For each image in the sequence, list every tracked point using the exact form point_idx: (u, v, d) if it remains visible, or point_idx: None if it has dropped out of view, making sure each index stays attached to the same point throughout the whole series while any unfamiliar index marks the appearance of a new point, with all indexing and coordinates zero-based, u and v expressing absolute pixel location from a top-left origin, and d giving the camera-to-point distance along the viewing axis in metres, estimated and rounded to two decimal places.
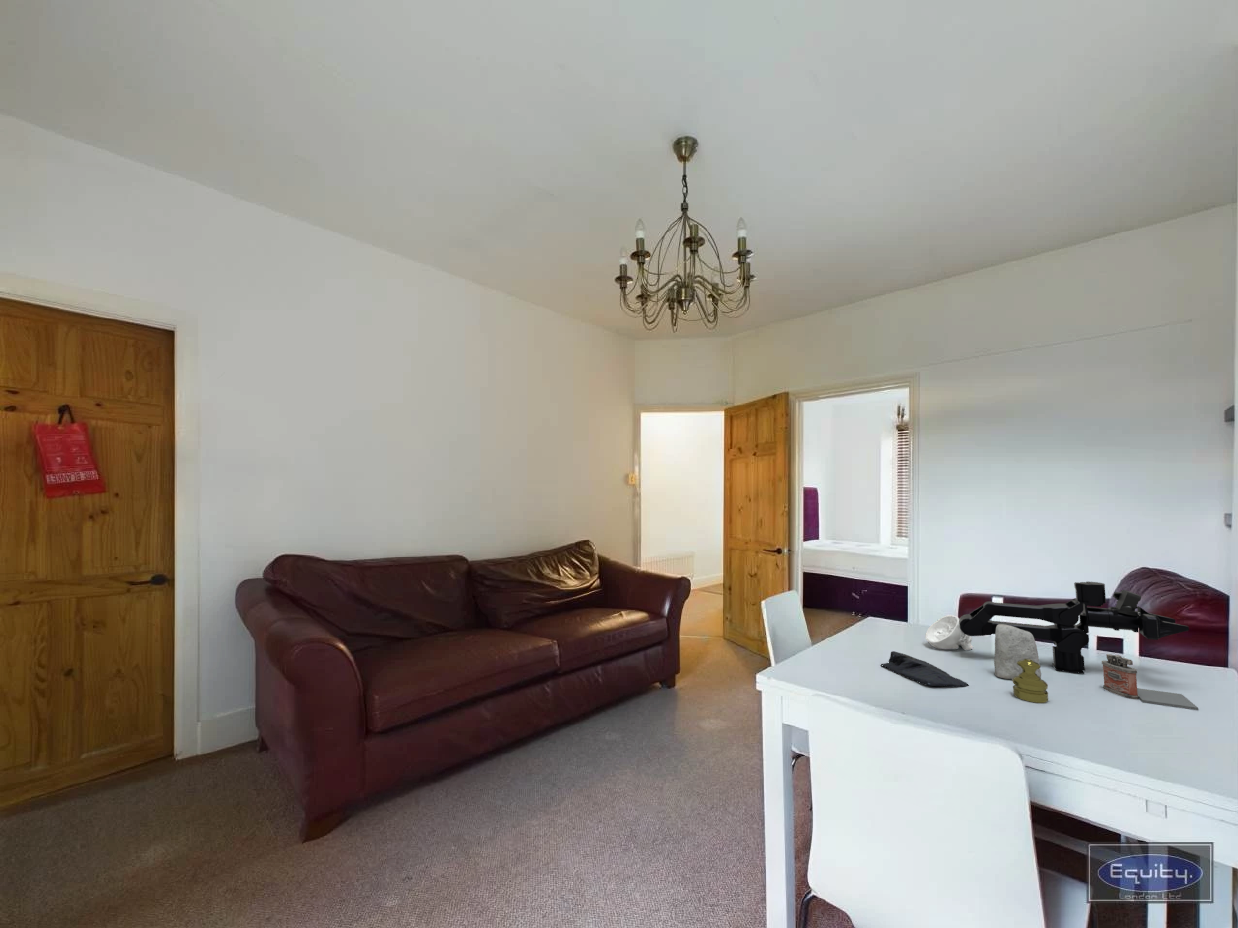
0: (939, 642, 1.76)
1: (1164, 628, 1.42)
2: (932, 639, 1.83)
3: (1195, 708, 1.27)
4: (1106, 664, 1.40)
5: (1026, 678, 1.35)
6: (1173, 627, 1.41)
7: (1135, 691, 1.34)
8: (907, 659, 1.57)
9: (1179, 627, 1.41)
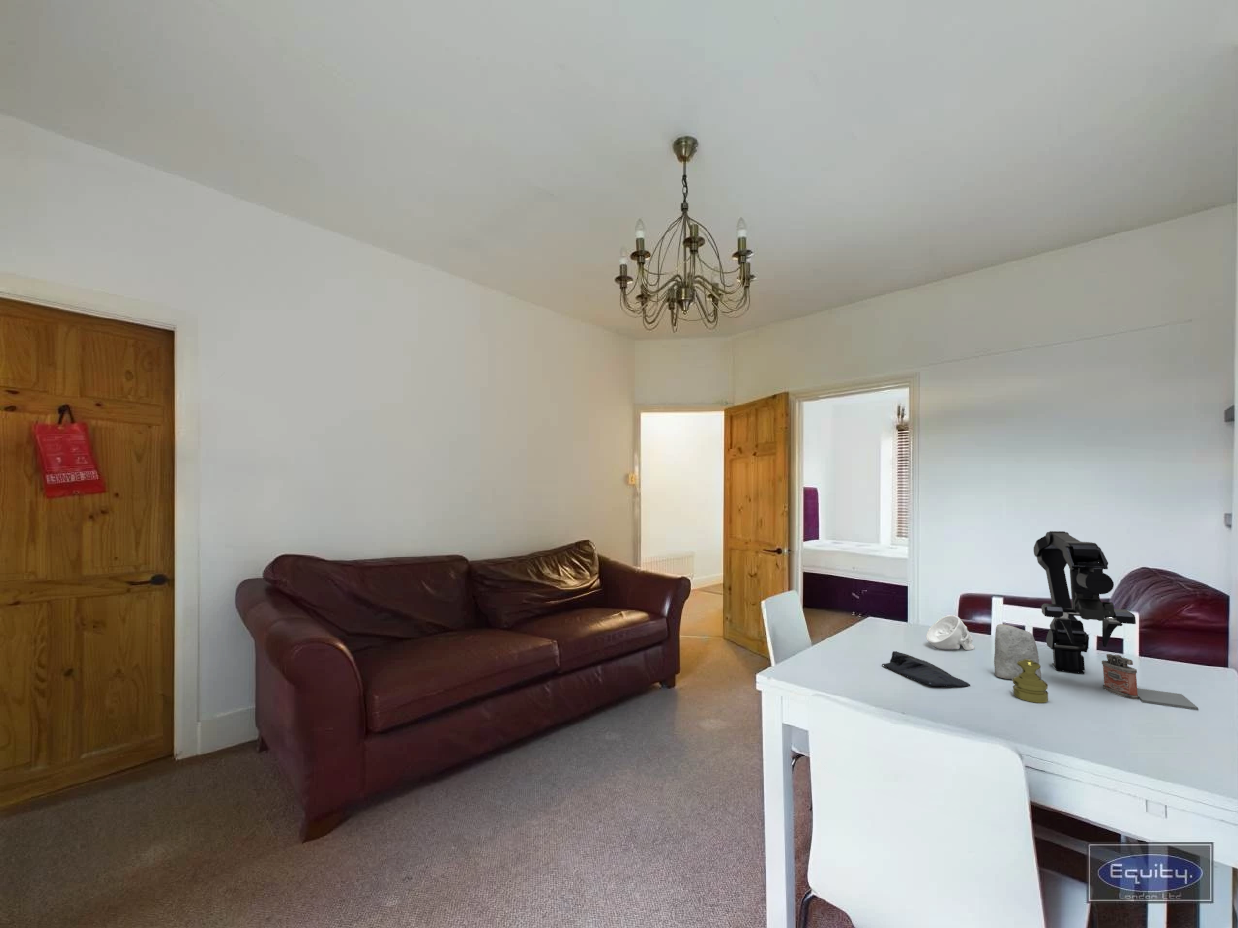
0: (940, 642, 1.76)
1: None
2: (933, 639, 1.83)
3: (1195, 708, 1.27)
4: (1106, 664, 1.40)
5: (1026, 678, 1.35)
6: (1066, 631, 1.44)
7: (1135, 691, 1.34)
8: (908, 659, 1.57)
9: (1068, 635, 1.44)
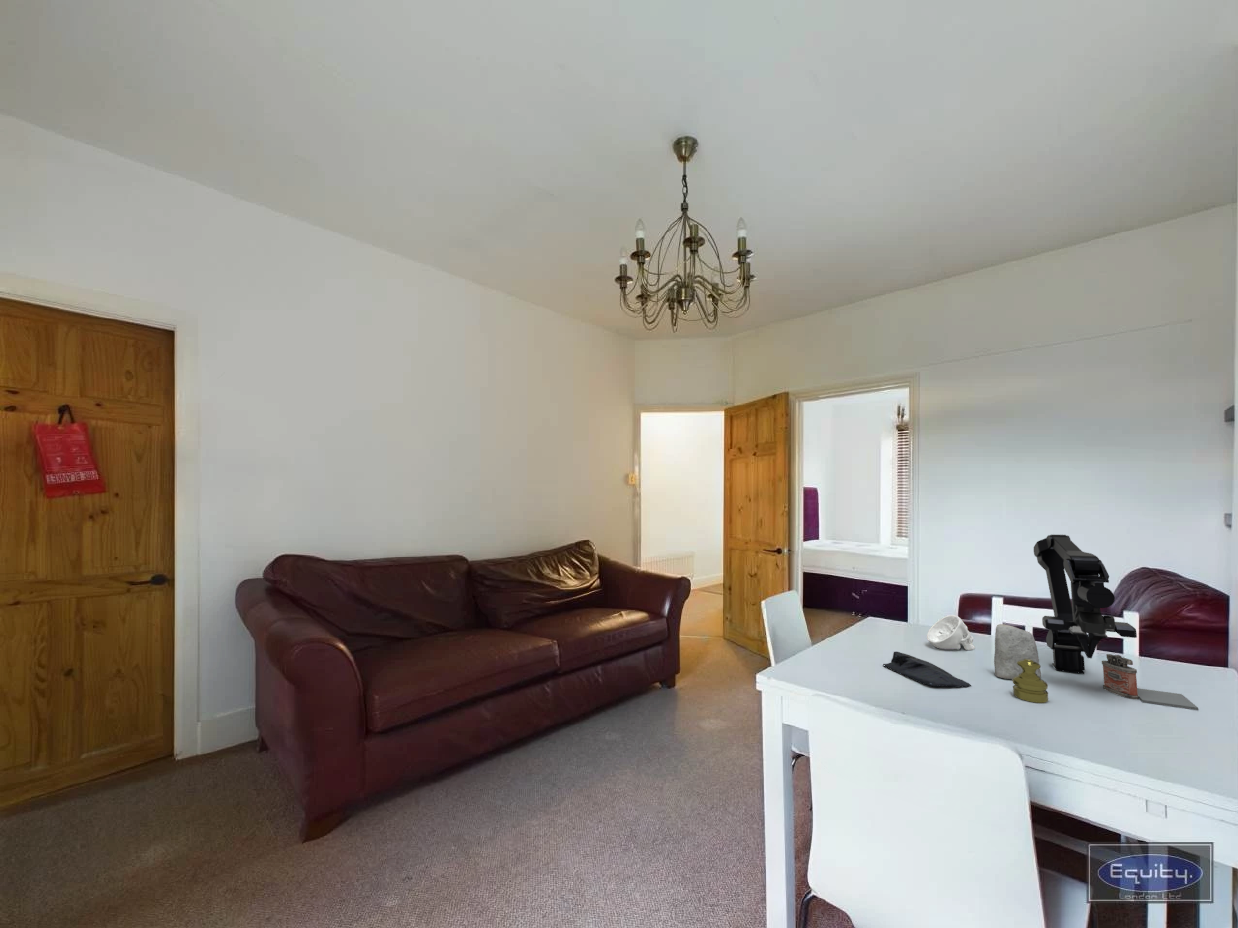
0: (941, 642, 1.76)
1: None
2: (934, 639, 1.83)
3: (1195, 708, 1.27)
4: (1106, 664, 1.40)
5: (1026, 678, 1.35)
6: (1082, 645, 1.43)
7: (1135, 691, 1.34)
8: (909, 659, 1.57)
9: (1084, 650, 1.42)
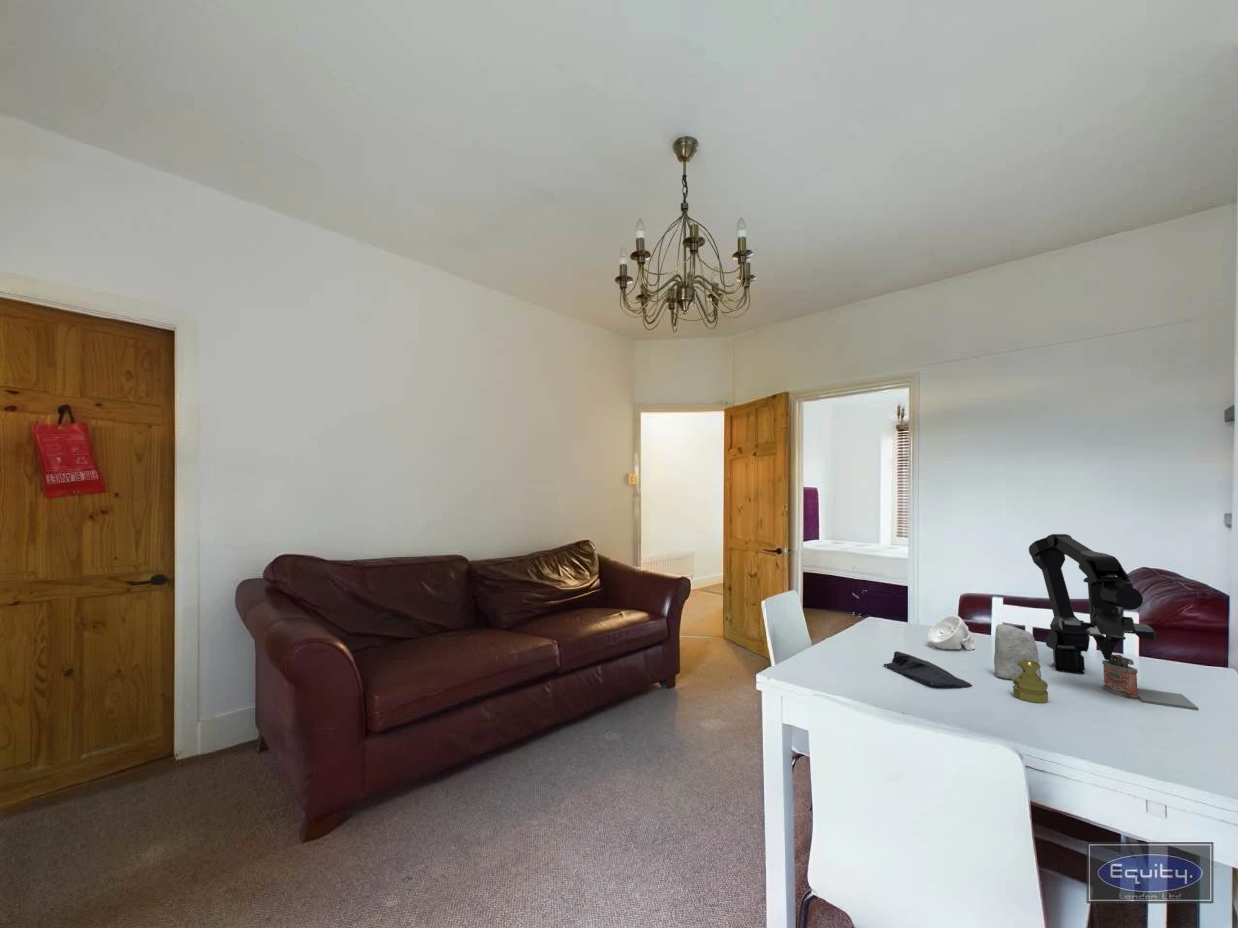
0: (942, 642, 1.76)
1: None
2: (934, 639, 1.83)
3: (1195, 708, 1.27)
4: (1107, 664, 1.40)
5: (1026, 678, 1.35)
6: (1099, 646, 1.41)
7: (1135, 691, 1.34)
8: (910, 659, 1.57)
9: (1102, 651, 1.40)
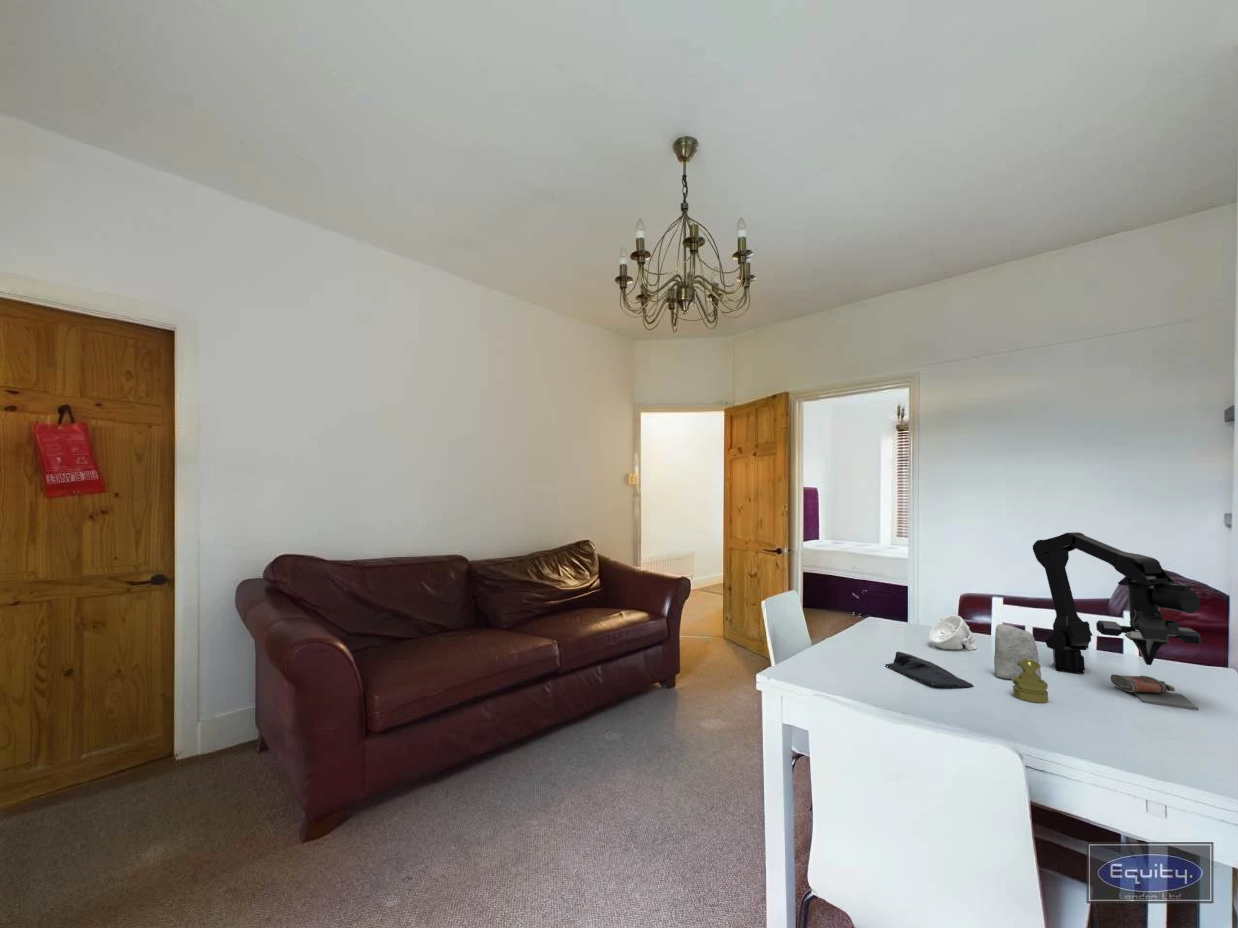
0: (943, 642, 1.76)
1: None
2: (935, 639, 1.83)
3: (1195, 708, 1.27)
4: (1146, 676, 1.40)
5: (1026, 677, 1.35)
6: (1140, 651, 1.36)
7: (1141, 688, 1.35)
8: (912, 659, 1.56)
9: (1143, 656, 1.36)
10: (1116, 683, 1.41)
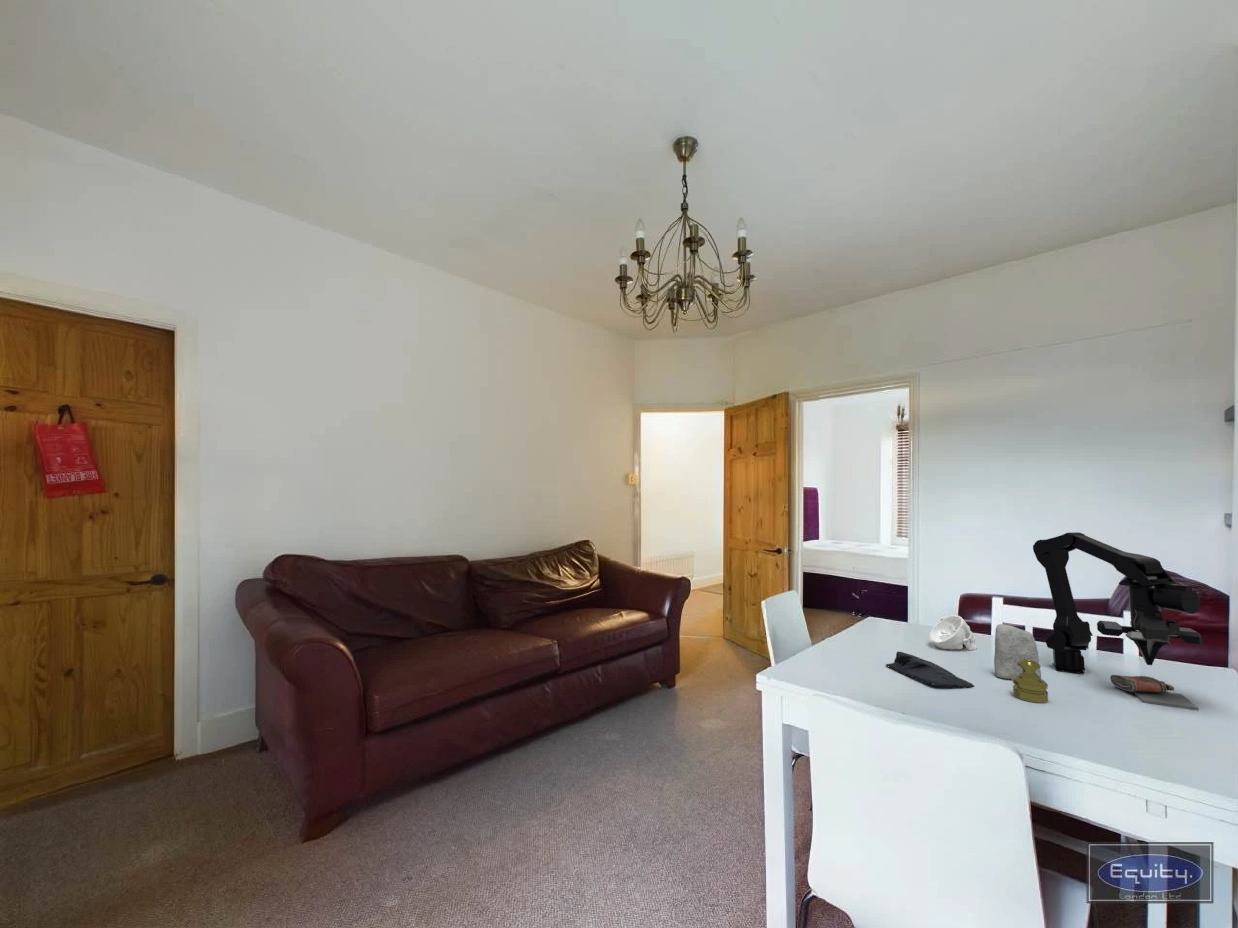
0: (943, 642, 1.76)
1: None
2: (936, 639, 1.83)
3: (1195, 708, 1.27)
4: (1145, 676, 1.40)
5: (1026, 677, 1.35)
6: (1141, 651, 1.36)
7: (1141, 687, 1.35)
8: (912, 659, 1.56)
9: (1143, 656, 1.36)
10: (1116, 683, 1.41)
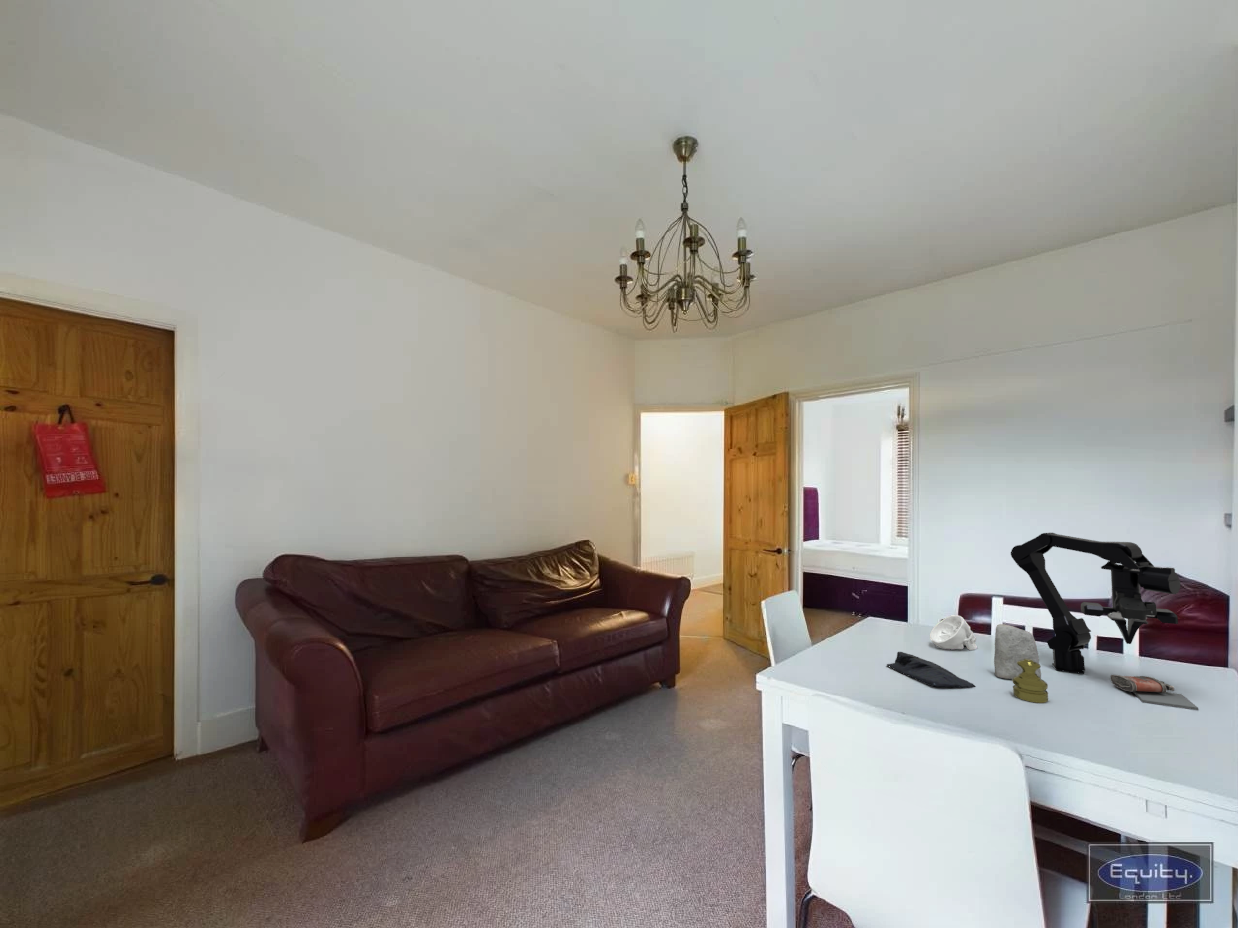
0: (944, 642, 1.76)
1: None
2: (936, 639, 1.83)
3: (1195, 708, 1.27)
4: (1145, 676, 1.40)
5: (1026, 677, 1.35)
6: (1121, 631, 1.44)
7: (1141, 687, 1.35)
8: (913, 659, 1.56)
9: (1123, 636, 1.44)
10: (1116, 683, 1.41)
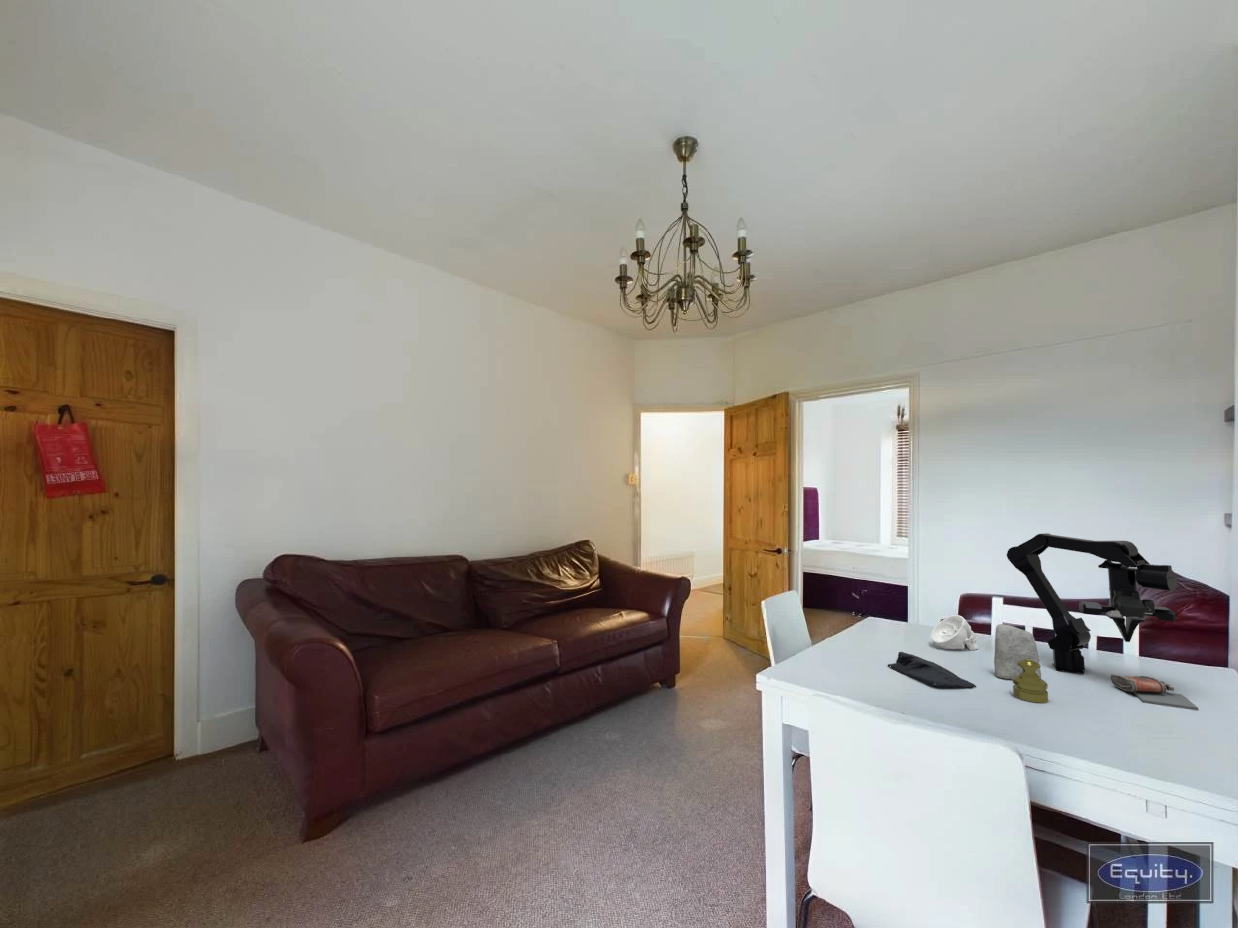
0: (945, 642, 1.76)
1: None
2: (937, 639, 1.83)
3: (1195, 708, 1.27)
4: (1145, 676, 1.40)
5: (1025, 677, 1.35)
6: (1120, 629, 1.45)
7: (1141, 687, 1.35)
8: (914, 660, 1.56)
9: (1122, 634, 1.45)
10: (1116, 683, 1.41)
